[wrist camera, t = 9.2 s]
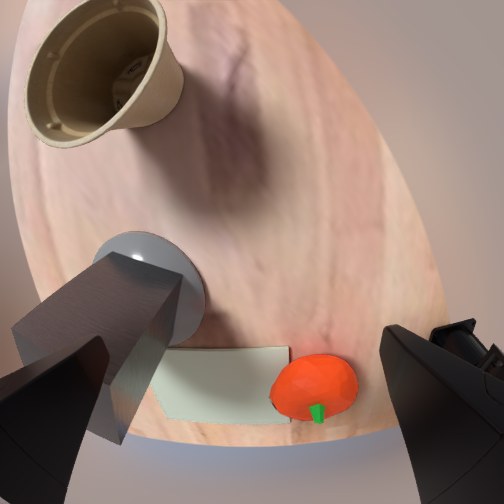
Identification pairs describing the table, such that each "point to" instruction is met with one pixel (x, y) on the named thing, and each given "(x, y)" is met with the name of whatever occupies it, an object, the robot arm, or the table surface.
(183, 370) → the rubber mat
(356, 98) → the table surface
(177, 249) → the slate coaster
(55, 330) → the dark grey square block
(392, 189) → the table surface
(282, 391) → the pumpkin
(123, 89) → the flower pot
